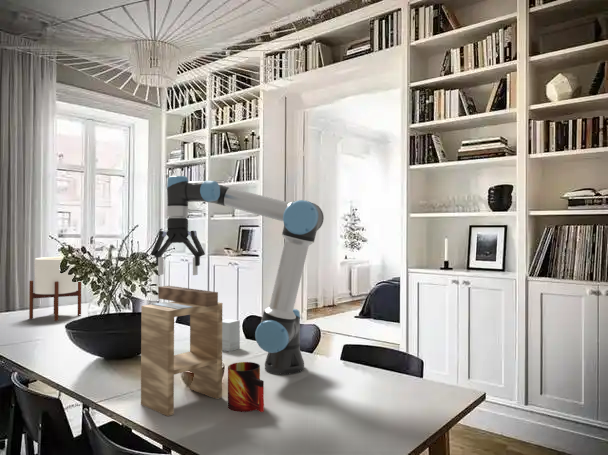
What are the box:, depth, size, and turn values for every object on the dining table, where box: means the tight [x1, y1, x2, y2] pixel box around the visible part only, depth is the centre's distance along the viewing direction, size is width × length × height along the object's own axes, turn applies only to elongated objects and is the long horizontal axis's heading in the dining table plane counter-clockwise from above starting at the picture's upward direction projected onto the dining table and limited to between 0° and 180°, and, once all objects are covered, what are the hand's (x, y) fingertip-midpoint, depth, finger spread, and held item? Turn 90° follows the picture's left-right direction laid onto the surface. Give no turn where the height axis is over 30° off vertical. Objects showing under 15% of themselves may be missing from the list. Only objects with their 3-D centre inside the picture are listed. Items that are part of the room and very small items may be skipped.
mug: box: [227, 361, 265, 413], centre depth 142 cm, size 10×14×12 cm
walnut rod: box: [157, 285, 219, 307], centre depth 153 cm, size 26×4×4 cm, turn 50°
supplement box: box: [222, 318, 241, 352], centre depth 211 cm, size 7×7×13 cm
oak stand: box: [140, 301, 223, 417], centre depth 147 cm, size 20×14×30 cm
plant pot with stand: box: [28, 256, 82, 322], centre depth 287 cm, size 22×22×36 cm
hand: (177, 274), depth 176 cm, fingers open, 13 cm apart
